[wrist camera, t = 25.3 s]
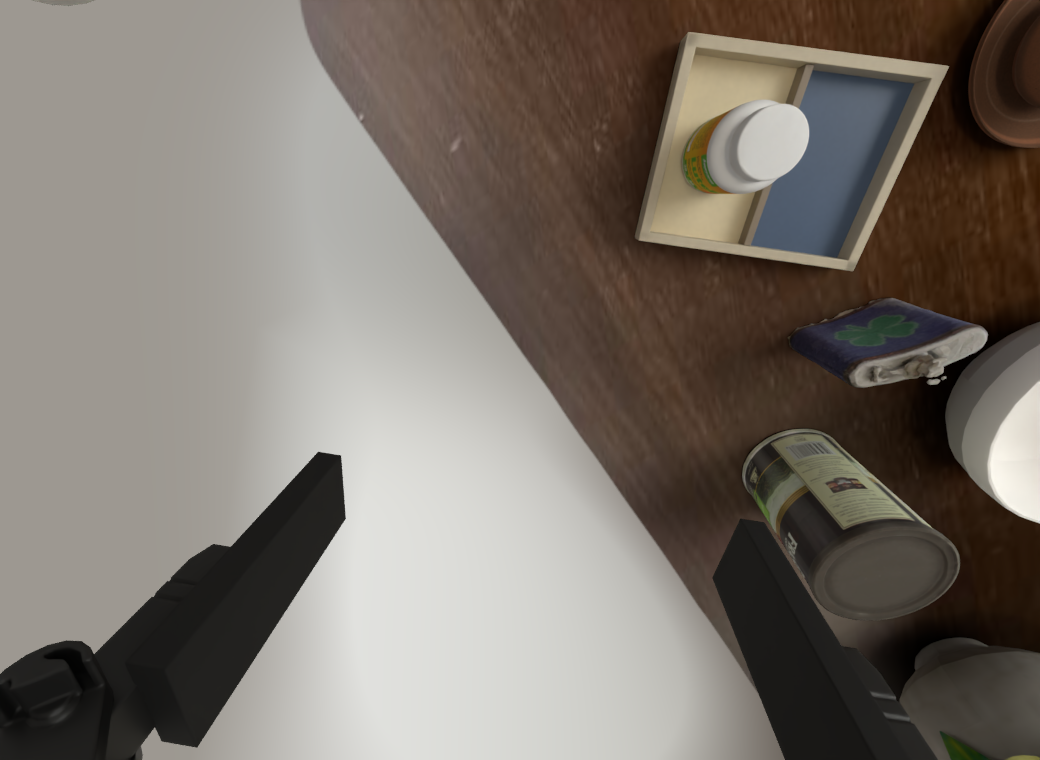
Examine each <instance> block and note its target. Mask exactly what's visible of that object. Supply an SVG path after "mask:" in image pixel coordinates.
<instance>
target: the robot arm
mask: <svg viewBox="0 0 1040 760" xmlns="http://www.w3.org/2000/svg"><path fill="white" fill-rule="evenodd" d="M345 519H346V518H345V504H344V490H343V477H342V463H341V456H340V455H334V454H328V453H321V452H318V453H317V454H316V455H315V456H314V457H313V458H312V459H311V460H310V461H309V463H308V464H307V465H306V466H305V467H304V468H303V469H302V470H301V471H300V472H299V474H298V475H297V476H296V477H295V478H294V479H293V480H292V481H291V482H290V483H289V484H288V485H287V486H286V488H285V489H284V490H283V491H282V492H281V493H280V494H279V495H278V496H277V498H276V499H275V500H274V501H273V502H272V503H271V504H270V505H269V506H268V507H267V508H266V509H265V511H264V512H263V513H262V514H261V515H260V516H259V517H258V518H257V519H256V520H255V521H254V522H253V523H252V525H251V526H250V527H249V528H248V529H247V530H246V531H245V532H244V533H243V534H242V535H241V536H240V538H239V539H238V540H237V541H236V542H235V543H234V544H233V545H232V546H231V547H228V546H221V545H215V544H213V545H211V546H210V547H208V548H206V549H205V550H203V551H202V552H200V553H198V554H197V555H195V556H194V557H192V558H190V559H189V560H188V561H187V562H186V563H185V564H184V565H183V566H182V567H181V568H180V569H179V570H178V571H177V572H176V573H175V574H174V575H173V576H172V577H171V580H170V581H167V582H166V583H165V584H164V585H163V586H162V587H161V588H160V589H159V590H158V591H157V592H156V594H155V596H154V597H151V598H150V599H149V600H148V601H147V602H146V603H145V604H144V605H143V606H142V607H141V608H140V609H139V610H138V611H137V612H136V613H135V614H134V615H133V616H132V617H131V618H130V619H129V620H128V621H127V622H126V623H125V624H124V625H123V626H122V627H121V628H120V629H119V630H118V631H117V632H116V633H115V634H114V635H113V636H112V637H111V638H110V639H109V640H108V641H107V642H106V643H105V644H104V645H103V646H102V647H101V648H100V649H99V650H98V651H97V652H96V653H95V654H93V652H92V650H91V648H90V647H89V646H87V645H86V644H85V643H83V642H82V641H63V642H59V643H55V644H51V645H47V646H45V647H43V648H41V649H39V650H36V651H34V652H32V653H30V654H28V655H26V656H24V657H23V658H21V659H20V660H18V661H17V662H15V663H14V664H12V665H11V666H9V667H8V668H6V669H5V670H4V671H3V672H2V673H1V674H0V760H142V750H141V745H142V743H143V742H144V741H145V739H146V738H147V737H148V735H149V734H150V733H151V731H152V730H153V729H154V727H155V728H156V730H157V732H158V734H159V736H160V738H161V741H163V742H169V743H174V744H180V745H186V746H192V747H198V745H199V744H200V742H201V741H202V739H203V738H204V736H205V735H206V733H207V731H208V730H209V728H210V727H211V725H212V724H213V722H214V720H215V719H216V717H217V716H218V714H219V713H220V711H221V710H222V708H223V707H224V705H225V704H226V702H227V701H228V699H229V697H230V696H231V694H232V693H233V691H234V690H235V688H236V687H237V685H238V684H239V682H240V681H241V679H242V678H243V676H244V674H245V673H246V671H247V670H248V668H249V667H250V665H251V664H252V662H253V661H254V659H255V657H256V656H257V654H258V653H259V651H260V650H261V648H262V647H263V645H264V644H265V642H266V641H267V639H268V637H269V636H270V634H271V633H272V631H273V630H274V628H275V627H276V625H277V624H278V622H279V620H280V619H281V617H282V616H283V614H284V612H285V611H286V610H287V608H288V607H289V605H290V603H291V602H292V600H293V599H294V597H295V596H296V594H297V593H298V591H299V590H300V588H301V586H302V585H303V583H304V582H305V580H306V579H307V577H308V576H309V574H310V573H311V571H312V570H313V568H314V567H315V565H316V563H317V562H318V560H319V559H320V557H321V556H322V554H323V553H324V551H325V550H326V548H327V547H328V545H329V543H330V542H331V540H332V539H333V537H334V536H335V534H336V533H337V531H338V530H339V528H340V526H341V525H342V523H343V522H344V520H345ZM713 581H714V583H715V586H716V588H717V591H718V593H719V596H720V598H721V601H722V603H723V606H724V608H725V611H726V613H727V616H728V618H729V621H730V623H731V626H732V628H733V631H734V633H735V636H736V638H737V641H738V643H739V646H740V648H741V651H742V653H743V656H744V658H745V661H746V663H747V666H748V668H749V671H750V673H751V676H752V678H753V681H754V683H755V686H756V688H757V691H758V693H759V696H760V698H761V700H762V703H763V706H764V708H765V711H766V713H767V716H768V718H769V721H770V723H771V726H772V728H773V731H774V733H775V736H776V738H777V741H778V743H779V746H780V748H781V751H782V753H783V756H784V758H785V760H938V759H937V757H936V756H935V754H934V753H933V751H932V750H931V748H930V747H929V745H928V744H927V742H926V741H925V739H924V738H923V736H922V735H921V733H920V732H919V730H918V729H917V727H916V726H915V724H913V723H911V721H910V717H909V715H908V714H907V712H906V711H905V709H904V708H903V707H902V705H901V704H900V702H897V700H896V696H895V695H894V693H893V692H892V690H891V689H890V687H889V686H888V684H887V683H886V681H885V680H884V678H883V677H882V675H881V674H880V672H879V671H878V670H877V669H876V668H875V667H874V666H873V665H872V664H871V663H870V662H869V661H868V660H867V659H866V658H865V657H864V656H863V655H862V654H861V653H860V652H859V651H858V650H857V649H856V648H850V647H844V646H841V645H840V643H839V641H838V640H837V638H836V637H835V635H834V633H833V632H832V630H831V629H830V627H829V625H828V624H827V622H826V621H825V619H824V617H823V616H822V614H821V612H820V611H819V609H818V608H817V606H816V604H815V603H814V601H813V600H812V598H811V596H810V595H809V593H808V592H807V590H806V588H805V587H804V585H803V584H802V582H801V580H800V579H799V577H798V576H797V574H796V572H795V571H794V569H793V568H792V566H791V564H790V563H789V561H788V560H787V558H786V556H785V555H784V553H783V552H782V550H781V548H780V547H779V545H778V544H777V542H776V540H775V539H774V537H773V536H772V534H771V532H770V531H769V529H768V528H767V526H766V524H765V523H764V522H758V521H752V520H745V519H740V521H739V523H738V525H737V527H736V529H735V531H734V533H733V536H732V538H731V540H730V542H729V544H728V546H727V548H726V550H725V552H724V554H723V557H722V559H721V561H720V563H719V565H718V567H717V569H716V571H715V573H714V576H713Z"/></svg>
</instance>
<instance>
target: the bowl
mask: <svg viewBox="0 0 1040 760" xmlns="http://www.w3.org/2000/svg"><path fill="white" fill-rule="evenodd" d="M945 420H946V427H947V434H948V441H949V446H950V448H951V451H952V453H953V455H954V457H955V459H956V460H957V461H958V462H959V463H960V465H961V466H962V467H963V468H964V469H965V470H966V472H967V473H968V474H969V476H970V477H971V478H972V479H973V480H974V481H975V483H976V484H977V485H978V486H979V487H980V488H981V489H982V490H984V491H985V492H986V493H987V494H989V495H990V496H991V497H992V498H993V499H995V500H996V501H997V502H998V503H1000V504H1001V505H1002V506H1003V507H1005V508H1006V509H1008V510H1010V511H1011V512H1013V513H1014V514H1016V515H1018V516H1020V517H1023V518H1026V519H1029V520H1032V521H1034V522H1037V523H1040V322H1038V323H1035V324H1032V325H1029V326H1027V327H1025V328H1023V329H1021V330H1019V331H1016V332H1014V333H1012V334H1010V335H1008V336H1007V337H1005V338H1003V339H1002V340H1000V341H999V342H997V343H996V344H994V345H993V346H991V347H990V348H988V349H987V350H985V351H984V352H982V353H981V354H980V355H979V356H978V357H976V358H975V359H974V360H973V361H972V362H971V363H970V364H969V365H968V366H967V367H966V368H965V370H964V371H963V372H962V374H961V375H960V377H959V378H958V380H957V382H956V384H955V386H954V387H953V389H952V392H951V394H950V397H949V399H948V402H947V406H946V413H945Z"/></svg>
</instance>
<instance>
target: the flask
mask: <svg viewBox="0 0 1040 760" xmlns="http://www.w3.org/2000/svg"><path fill="white" fill-rule="evenodd" d="M869 303H870V304H868V305H866V306H862V307H859V308H856V309H850V310H848V311H846V310H845V311H844V312H842V313H839V314H838V315H837V316H835V317H834V318H833V319H830V320H827V319H825V320H823V321H822V322H820V323H818V324H812V323H811V325H808V326H804V327H801V328H797V329H796V330H795V331H794V332H793V334H791V336H790V337H788V339H789V346H790V347H791V348H792V349H793V350H795V351H797V352H798V353H800V354H801V355H803V356H805V357H807V358H808V359H809V360H811V361H813V362H815V363H817V364H818V365H820V366H822V367H823V368H824V369H826V370H827V371H829V372H830V373H832V374H834V375H835V376H837V377H839V378H840V379H842V380H843V381H845V382H846V383H848V384H849V385H851V386H853V387H859V388H865V387H871V386H876V385H883V384H889V383H894V382H898V381H902V380H906V379H915V378H919V377H920V376H925V377H928V378H932V377H937V376H939V375H941V374H943V372H944V366H946V365H948V364H951V363H953V362H955V361H958V360H960V359H963V358H965V357H967V356H968V355H970V354H973V353H975V352H977V351H978V350H980V349H981V348H982V347H983V346H984V344H985V343H986V341H987V337H988V333H987V331H986V330H985V329H984V328H983V327H982V326H979V325H975V324H972V323H968V322H964V321H961V320H958V319H954V318H951V317H948V316H944V315H941V314H937V313H935V312H933V311H929V310H925V309H922V308H920V307H917V306H914V305H911V304H908V303H906V302H903V301H900V300H897V299H895V298H885V299H879V300H874V301H871V302H869ZM944 379H946V377H945V376H943V377H941V380H944ZM939 382H940V380H939V379H934V380H931V379H929V380H928V381H927V384H930V385H937V384H938V383H939Z"/></svg>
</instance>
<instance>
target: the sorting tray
mask: <svg viewBox="0 0 1040 760" xmlns="http://www.w3.org/2000/svg"><path fill="white" fill-rule="evenodd" d="M948 68H949V66H945V65H937V64H930V63H922V62H914V61H907V60H899V59H891V58H884V57H876V56H869V55H861V54H853V53H846V52H838V51H830V50H823V49H815V48H807V47H800V46H792V45H784V44H777V43H769V42H762V41H754V40H746V39H739V38H731V37H723V36H716V35H708V34H700V33H693V32H688V33H687V34H686V36H685V37H684V38H683V39H682V41H681V42H680V45H679V50H678V54H677V58H676V63H675V67H674V71H673V75H672V80H671V84H670V88H669V92H668V97H667V101H666V105H665V109H664V114H663V118H662V122H661V126H660V131H659V135H658V139H657V143H656V148H655V152H654V156H653V160H652V165H651V169H650V173H649V177H648V182H647V186H646V190H645V194H644V199H643V203H642V207H641V211H640V216H639V220H638V224H637V229H636V233H635V237H634V238H635V239H637V240H639V241H645V242H652V243H659V244H666V245H673V246H680V247H687V248H694V249H701V250H707V251H714V252H721V253H728V254H735V255H742V256H749V257H756V258H763V259H770V260H777V261H784V262H791V263H798V264H805V265H812V266H819V267H826V268H833V269H840V270H847V271H853V270H854V268H855V266H856V264H857V262H858V260H859V257H860V255H861V253H862V251H863V249H864V247H865V245H866V243H867V240H868V238H869V236H870V234H871V232H872V230H873V228H874V225H875V223H876V221H877V219H878V217H879V215H880V213H881V210H882V208H883V206H884V204H885V202H886V200H887V198H888V195H889V193H890V191H891V189H892V187H893V185H894V183H895V181H896V178H897V176H898V174H899V172H900V170H901V168H902V166H903V163H904V161H905V159H906V157H907V155H908V153H909V151H910V148H911V146H912V144H913V142H914V140H915V138H916V136H917V133H918V131H919V129H920V127H921V125H922V123H923V121H924V118H925V116H926V114H927V112H928V110H929V108H930V106H931V104H932V101H933V99H934V97H935V95H936V93H937V91H938V89H939V86H940V84H941V82H942V80H943V79H944V76H945V74H946V72H947V70H948ZM754 100H771V101H775V102H778V103H780V104H790V105H793V106H795V107H797V108H798V109H799V110H800V111H801V112H802V113H803V114H804V115H805V117H806V119H807V122H808V125H809V140H808V144H807V147H806V150H805V152H804V154H803V156H802V158H801V159H800V160H799V162H798V163H797V164H796V165H795V166H794V168H792V169H791V170H790V171H789V172H788V173H786V174H785V175H783V176H781V177H779V178H778V179H777V180H775V181H774V182H773V183H772V184H770V185H769V186H767V187H765V188H763V189H761V190H759V191H756V192H752V193H747V194H708V193H703V192H700V191H697V190H696V189H694V188H693V187H692V186H691V185H690V184H689V183H688V182H687V180H686V178H685V176H684V173H683V169H682V156H683V152H684V148H685V146H686V144H687V141H688V140H689V138H690V137H691V135H692V134H693V133H694V132H695V130H696V129H697V128H699V127H700V126H701V125H702V124H704V123H705V122H707V121H708V120H710V119H712V118H715V117H717V116H719V115H721V114H723V113H725V112H727V111H729V110H731V109H733V108H735V107H737V106H739V105H742V104H744V103H747V102H750V101H754Z"/></svg>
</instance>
